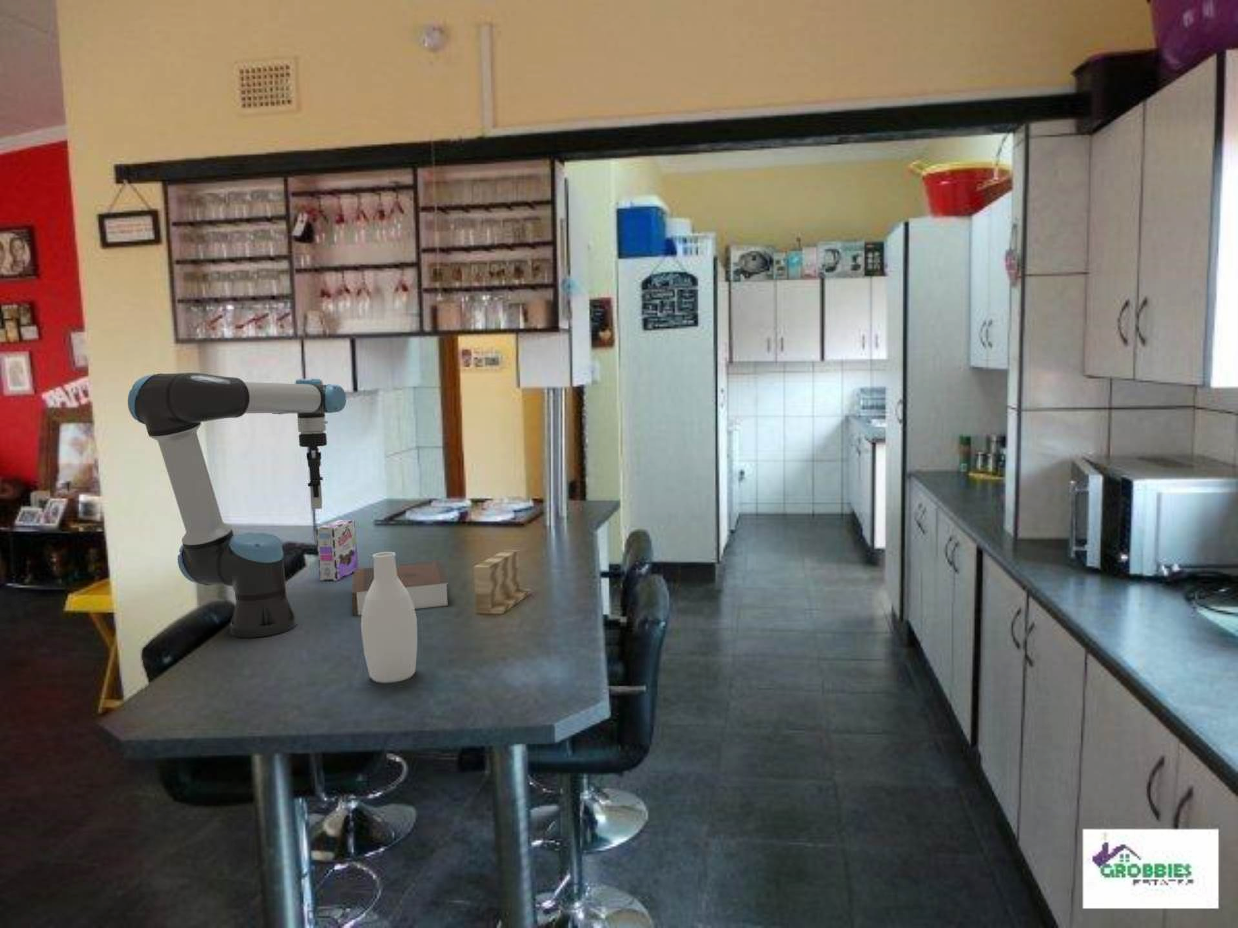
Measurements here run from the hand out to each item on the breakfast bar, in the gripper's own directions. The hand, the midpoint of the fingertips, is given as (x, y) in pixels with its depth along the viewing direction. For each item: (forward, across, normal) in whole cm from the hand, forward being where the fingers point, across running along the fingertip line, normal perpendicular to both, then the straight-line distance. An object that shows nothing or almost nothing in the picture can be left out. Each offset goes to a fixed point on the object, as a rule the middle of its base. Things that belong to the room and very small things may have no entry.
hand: (317, 505), depth 258 cm
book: (+25, -22, -21) cm, 39 cm away
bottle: (+26, -86, -14) cm, 91 cm away
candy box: (+24, +14, -5) cm, 28 cm away
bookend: (+24, -41, -46) cm, 66 cm away
